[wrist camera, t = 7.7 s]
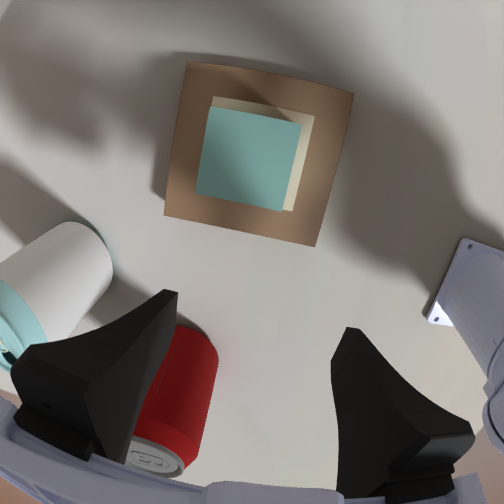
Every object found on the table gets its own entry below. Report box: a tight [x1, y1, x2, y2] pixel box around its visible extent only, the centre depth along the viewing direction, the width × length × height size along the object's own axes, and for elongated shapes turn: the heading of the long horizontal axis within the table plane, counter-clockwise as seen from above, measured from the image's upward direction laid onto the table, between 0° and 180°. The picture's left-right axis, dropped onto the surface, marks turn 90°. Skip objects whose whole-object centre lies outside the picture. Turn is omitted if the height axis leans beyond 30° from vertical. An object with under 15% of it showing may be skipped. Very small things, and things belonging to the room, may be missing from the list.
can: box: [0, 222, 113, 373], centre depth 19 cm, size 7×7×12 cm
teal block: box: [195, 107, 302, 212], centre depth 15 cm, size 4×4×5 cm
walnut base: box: [164, 62, 354, 247], centre depth 19 cm, size 10×10×2 cm
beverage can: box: [125, 326, 219, 478], centre depth 22 cm, size 7×7×12 cm
